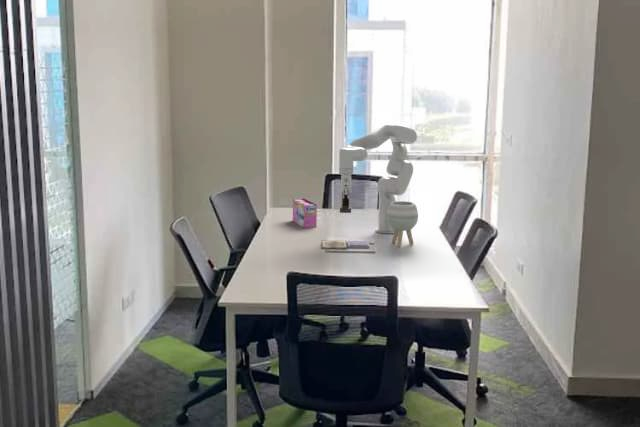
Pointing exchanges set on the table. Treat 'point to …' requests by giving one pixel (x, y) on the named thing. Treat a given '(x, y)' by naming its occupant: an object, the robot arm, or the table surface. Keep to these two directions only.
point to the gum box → (304, 213)
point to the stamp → (345, 208)
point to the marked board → (334, 244)
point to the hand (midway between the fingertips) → (345, 204)
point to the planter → (402, 220)
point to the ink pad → (358, 244)
